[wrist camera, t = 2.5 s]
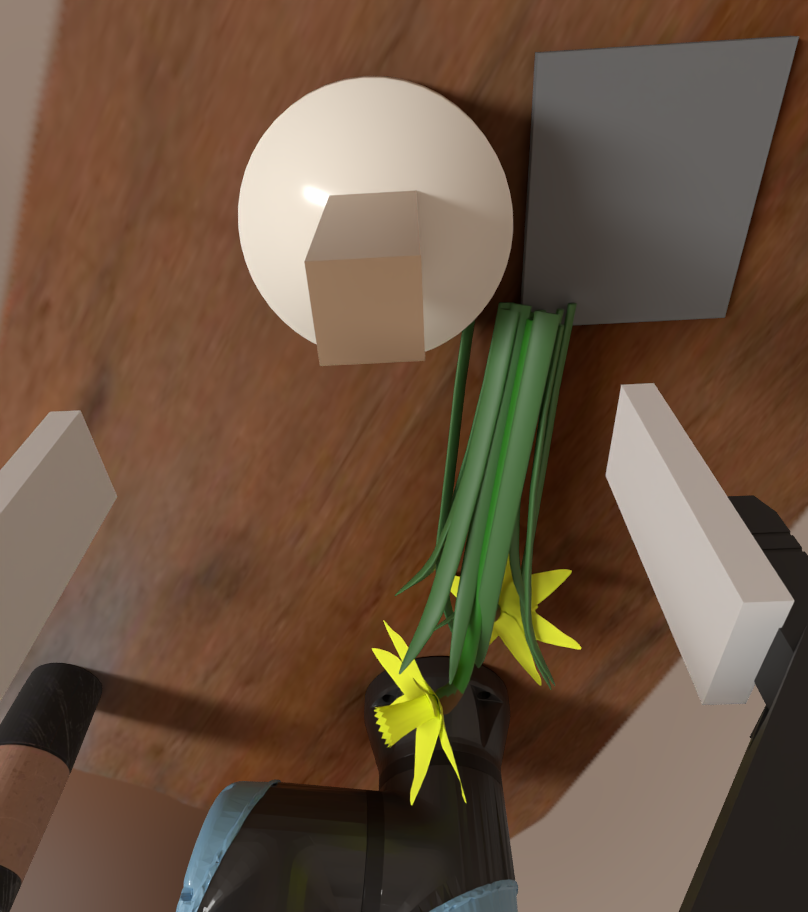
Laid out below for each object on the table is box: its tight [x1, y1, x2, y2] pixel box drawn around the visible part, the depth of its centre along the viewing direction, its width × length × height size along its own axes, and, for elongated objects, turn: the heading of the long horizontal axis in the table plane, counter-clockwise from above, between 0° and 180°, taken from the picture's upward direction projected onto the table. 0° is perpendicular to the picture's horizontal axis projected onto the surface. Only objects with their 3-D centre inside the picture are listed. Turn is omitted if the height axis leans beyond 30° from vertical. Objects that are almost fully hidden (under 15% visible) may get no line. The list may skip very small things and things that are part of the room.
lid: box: [238, 76, 513, 366], centre depth 27 cm, size 13×13×10 cm
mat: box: [521, 36, 799, 325], centre depth 36 cm, size 15×13×1 cm
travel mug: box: [0, 663, 102, 912], centre depth 56 cm, size 8×8×20 cm
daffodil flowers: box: [372, 302, 581, 805], centre depth 44 cm, size 17×15×35 cm
